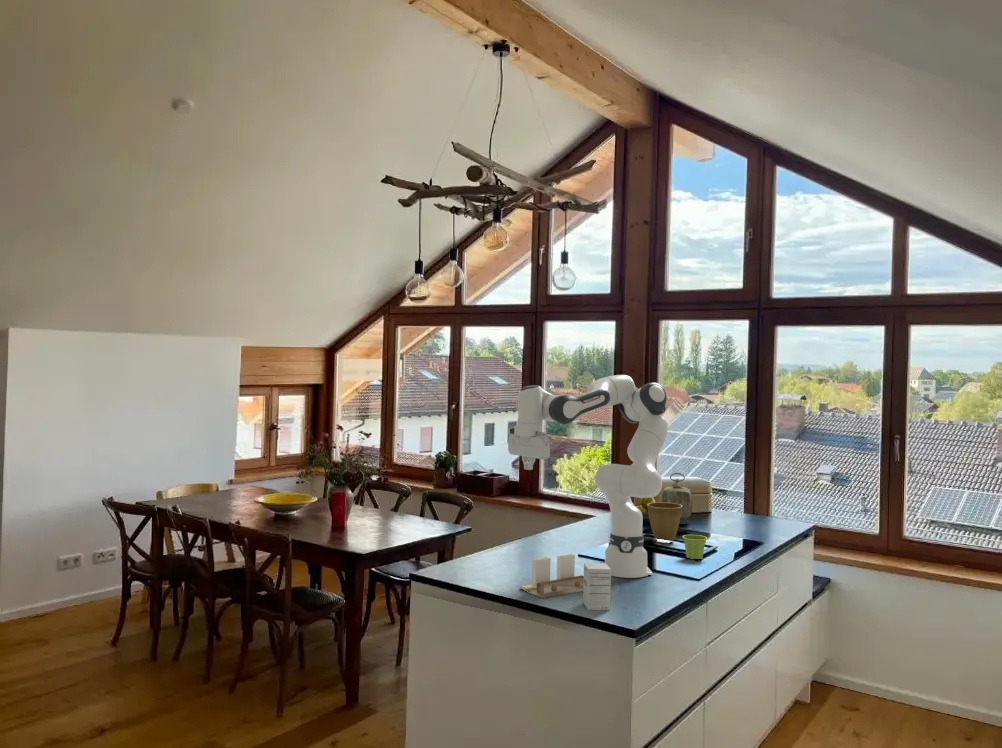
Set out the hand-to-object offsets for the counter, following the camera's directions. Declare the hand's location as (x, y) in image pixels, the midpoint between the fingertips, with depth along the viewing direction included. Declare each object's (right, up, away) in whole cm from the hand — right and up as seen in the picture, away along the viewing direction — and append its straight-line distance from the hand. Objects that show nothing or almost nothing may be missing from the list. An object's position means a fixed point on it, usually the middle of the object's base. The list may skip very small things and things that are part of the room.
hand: (528, 469), depth 282 cm
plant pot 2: (+66, -39, +30) cm, 82 cm away
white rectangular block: (+3, -35, -23) cm, 42 cm away
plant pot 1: (+61, -39, +61) cm, 94 cm away
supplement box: (+20, -38, -38) cm, 57 cm away
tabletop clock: (+75, -39, +102) cm, 133 cm away
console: (+8, -37, -20) cm, 43 cm away
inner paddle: (+12, -36, -17) cm, 41 cm away
